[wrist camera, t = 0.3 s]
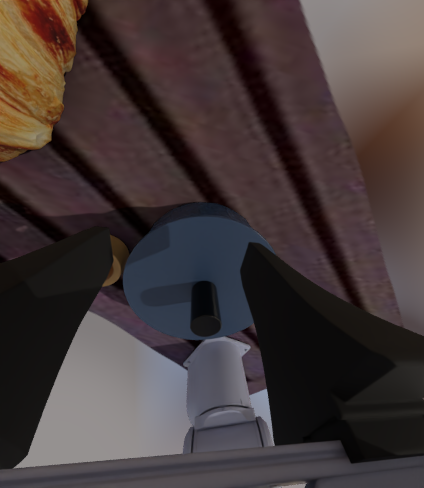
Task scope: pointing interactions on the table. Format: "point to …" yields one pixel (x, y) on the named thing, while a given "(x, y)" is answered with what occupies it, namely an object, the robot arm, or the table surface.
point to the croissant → (34, 69)
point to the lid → (191, 277)
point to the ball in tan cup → (117, 260)
